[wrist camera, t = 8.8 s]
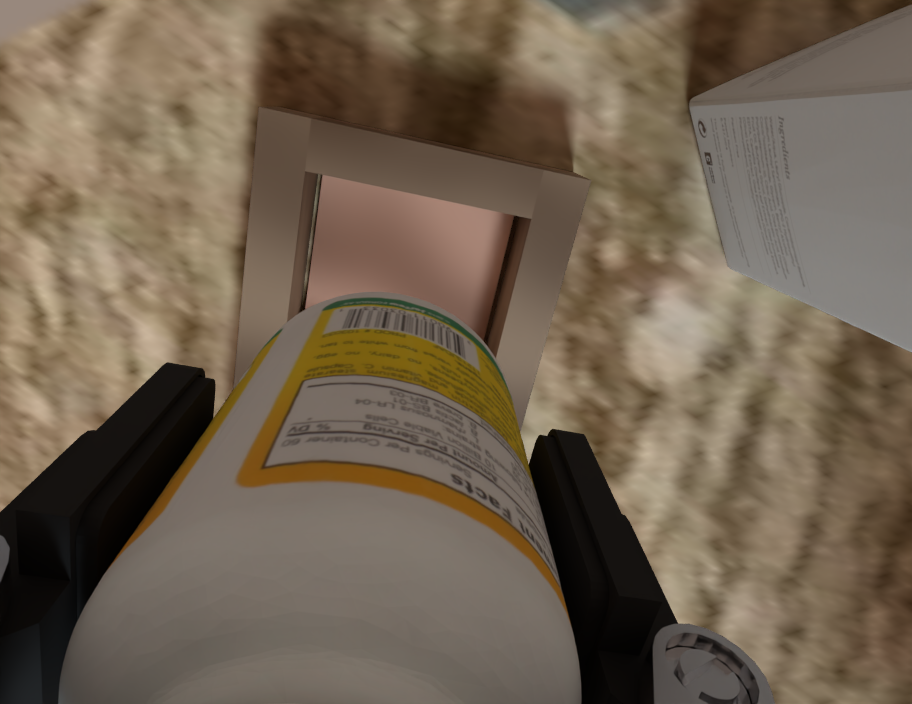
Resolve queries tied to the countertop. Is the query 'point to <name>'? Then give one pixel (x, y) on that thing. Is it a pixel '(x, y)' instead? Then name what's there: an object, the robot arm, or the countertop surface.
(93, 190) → the countertop surface
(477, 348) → the supplement bottle
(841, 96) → the skincare box
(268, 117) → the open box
